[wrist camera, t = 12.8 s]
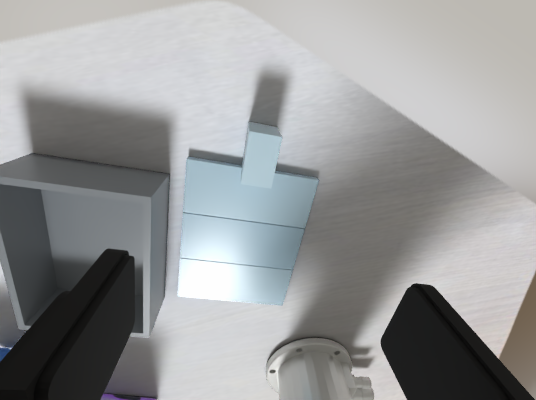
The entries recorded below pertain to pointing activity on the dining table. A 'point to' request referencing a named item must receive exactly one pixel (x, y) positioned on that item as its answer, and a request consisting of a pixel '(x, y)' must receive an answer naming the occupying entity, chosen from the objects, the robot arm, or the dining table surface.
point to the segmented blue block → (243, 224)
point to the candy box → (123, 397)
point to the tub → (80, 230)
